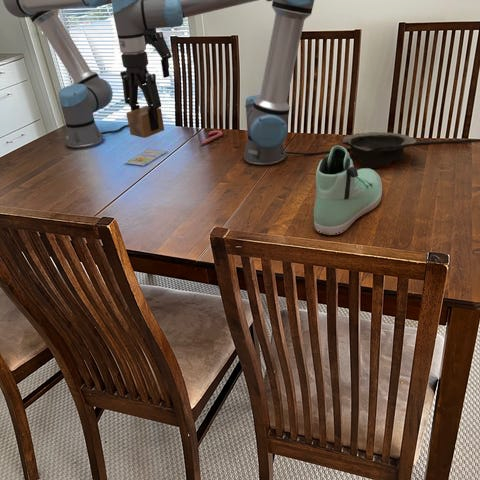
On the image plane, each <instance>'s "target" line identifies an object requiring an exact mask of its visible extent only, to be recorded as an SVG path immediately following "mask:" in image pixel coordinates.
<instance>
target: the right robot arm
mask: <svg viewBox="0 0 480 480" xmlns="http://www.w3.org/2000/svg"><path fill="white" fill-rule="evenodd" d="M111 1H112V4H111V7H112V15H113V20H114V25H115V29H116V30H115V31H116V35H117V40H118V44H119V51H120V53H121V55H120V56H121V57H120V58H121V62H122V65H123V66H122V67H123V68H125V69H126V70H122V71H120V72H119V74H120V78H121V81H122V89H123V90H122V91H123V99H124V103H125V104H128V106H129V107H130V111H133V110H136V109H139V108H141V106H140V103H139V102H138V99H139V98H138V97H139V96H138V95H139V89H140V90H141V92H142V95H143V96H144V99H145V102H146V104H147V106H148V107H149V109H148V115H149V121H150V127H151V131H154V130H157V129H159V125H158V113H157V108H161V107H162V102H161V98H160V94H159V90H158V89H159V88H158V85H157V75H156V73H150V72H149V70H148V68H147V66H148V65H149V59H148V52H147V51H146V50H147V45H145V39H144V33H143V29H152V28H156V29H166V28H167V29H169V28H170V29H173V28H176V27H182V26H183V25H184V19H185V18H190V17H195V16H198V15H203V14H206V13H211V12H215V11H220V10H224V9H228V8H232V7H235V6H240V5H244V4H248V3H252V2H257V1H259V0H111ZM265 1H266V2H272V3H271V8H272V10H273V11H274V14H275V16H274V21H273V26H272V30H271V36H270V41H269V45H268V46H269V47H268V52H267V56H266V62H265V68H264V74H263V77H262V83H261V89H260V93H259V94H255V95H251V96H248V97H246V99H245V105H244V107H245V117H246V131H247V142H246V146H245V150H244V153H243V161H244V163H246V164H247V165H250V166H252V167H258V168H259V167H260V168H266V167H274V166H277V165H280V164H282V163H284V162H285V161H286V159H287V155H300V156H311V155H313V156H314V155H321V154H322V155H323V154H330V152H331V150H323V151H316V152H298V151H296V152H295V151H286V150H285V147H284V144H283V143H284V142H285V141H286V139H287V136H288V129H289V128H288V119H289V114H290V110H291V106H290V105H289V103H288V97H289V93H290V92H289V91H290V87H291V83H292V78H293V75H294V70H295V66H296V60H297V56H298V52H299V46H300V42H301V37H302V33H303V29H304V25H305V20H306V19H307V18H309V17H310V16H312V12H313V8H314V4H315V0H265ZM416 142H417V143H415V144H414V145H431V144H449V143H450V144H451V143H468V142H480V138H476V139H475V138H473V139H456V140H455V139H454V140H436V141H420V142H419V141H416ZM345 149H346V150H347V151H351V147H348V148H345Z"/></svg>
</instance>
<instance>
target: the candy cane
mask: <svg viewBox="0 0 480 480" xmlns="http://www.w3.org/2000/svg"><path fill="white" fill-rule="evenodd" d="M212 135H213V136H212ZM223 135H224V133H223V131H222V130H212V131H209V132H208V136H210V137H209V138H207V139H205V140H203V141H201V142H200V145H201V146H205V145H206V144H208V143H210V142H212V141H214V140H217V139H218V138H220V137H222V136H223Z"/></svg>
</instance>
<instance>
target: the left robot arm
mask: <svg viewBox="0 0 480 480" xmlns="http://www.w3.org/2000/svg"><path fill="white" fill-rule="evenodd" d="M2 2H3V5H4V8H5V9H6V10H7V11H8V12H9V13H10V14H11V15H12V16H14V17H16V18H19V19H21V18H24V19H25V18H29V19H30V20H31V22H32V24H33V25H34V26H38V27H39V28H40V29H41V31H42V32H43V34H44V36H45V37H46V39H47V41H48V42H49V44H50V46H51V47H52V49H53V50H54V52H55V54H56V55H57V57H58V59H59V60H60V62H61V63H62V64H63V66H64V68H65V69H66V71H67V72H68V74H69V76H70V77H71V79H72V80H73V83H72V84H70V85H66V86H65V87H62V88H61V89H60V90H59V91H58V100H59V105H60V108H61V113H62V116H63V119H64V123H65V126H66V133H65V144H66V148H68V149H70V150H85V149H92V148H94V147H97V146H99V145H102V143H104V135H107V134H117V133H119V132H121V131H123V129H125V128H129V124H125V125H122V126H121V127H120V128H117V129H116V130H106V131H101V130H100V129H99V127H98V125H97V124H96V121H95V117H94V114H95V113H96V112H98V111H100V110H102V109H104V108H106V107H107V106H108V105H110V103H111V102H112V101H113V95H114V94H113V88H112V86H111V84H110V83H109V82H108V81H107V79H104V78H102V77H101V78H100V76H99V74H98V73H97V72H96V71H92V70H91V68H90V66H89V65H88V63H87V61H86V59H85V58H84V57H83V55H82V53H81V51H80V50H79V48H78V46H77V45H76V43H75V42H74V40H73V38H72V37H71V35H70V34H69V32H68V31H67V29H66V27H65V25H64V24H63V22H62V20H61V19H60V17H59V13H60V10H68V9H80V8H86V7H87V8H90V7H91V8H99V7H103V6H106V5H112V1H111V0H2ZM143 33H144V39H145V45H146V46H147V45H150V46H152V47H154V50H156V52H157V53H158V55H159V57H160V58H161V59H160V63H161V71H162V77H163V79H165V78H169V77H170V76H171V75H170V63H169V60H170V59H171V58H172V57H173V55H172V53H171V51H170V48H169V46H168V44H167V42H166V40H165V38H164V37H165V36H164V33H163V31H157V28H152V29H143Z"/></svg>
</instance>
